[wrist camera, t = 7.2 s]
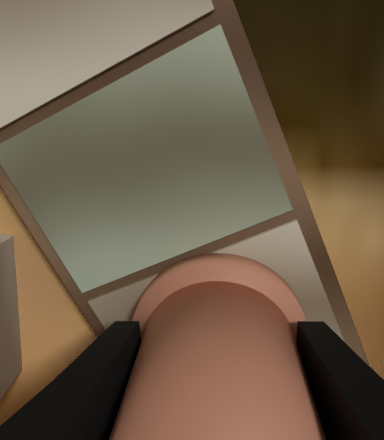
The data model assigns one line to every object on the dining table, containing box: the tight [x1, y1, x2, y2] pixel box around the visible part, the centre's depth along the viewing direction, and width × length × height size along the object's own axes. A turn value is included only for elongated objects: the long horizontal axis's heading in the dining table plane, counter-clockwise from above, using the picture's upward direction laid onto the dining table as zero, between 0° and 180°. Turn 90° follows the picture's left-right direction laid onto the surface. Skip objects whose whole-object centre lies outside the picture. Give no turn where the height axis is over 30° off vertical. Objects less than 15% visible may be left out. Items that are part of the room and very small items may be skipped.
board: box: [0, 0, 369, 365], centre depth 8 cm, size 19×7×1 cm, turn 25°
